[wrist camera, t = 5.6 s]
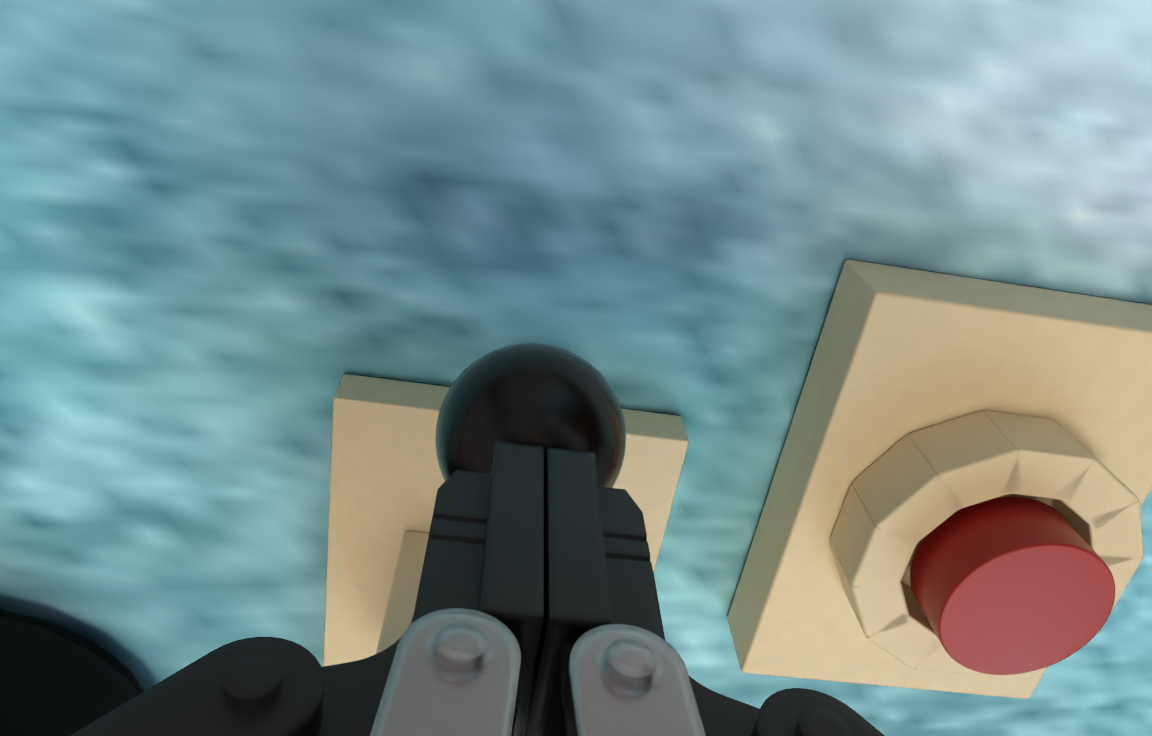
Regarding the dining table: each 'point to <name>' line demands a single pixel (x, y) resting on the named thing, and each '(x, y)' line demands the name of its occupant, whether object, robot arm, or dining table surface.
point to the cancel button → (1011, 586)
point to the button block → (938, 463)
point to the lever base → (430, 503)
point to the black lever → (530, 410)
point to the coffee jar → (55, 679)
